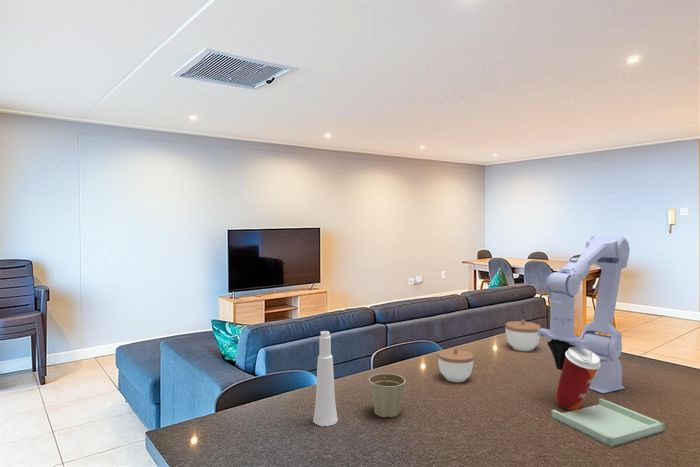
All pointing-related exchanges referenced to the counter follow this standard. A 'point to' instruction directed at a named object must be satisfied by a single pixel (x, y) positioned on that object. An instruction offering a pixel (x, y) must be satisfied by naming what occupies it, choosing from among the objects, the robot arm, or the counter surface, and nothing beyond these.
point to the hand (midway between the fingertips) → (561, 368)
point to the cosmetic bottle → (325, 384)
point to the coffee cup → (576, 377)
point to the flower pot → (386, 393)
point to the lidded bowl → (522, 335)
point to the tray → (610, 423)
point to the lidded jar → (455, 364)
